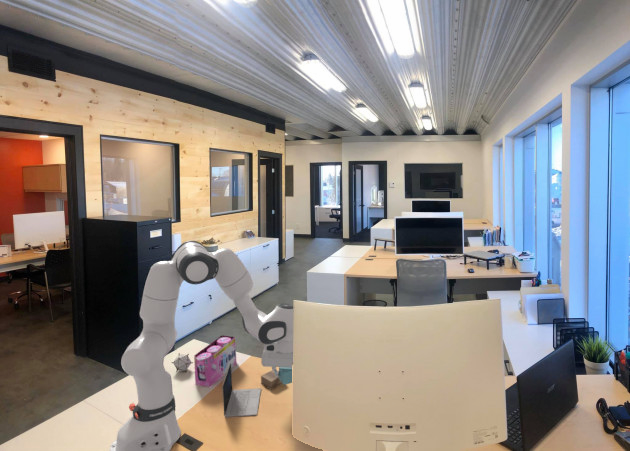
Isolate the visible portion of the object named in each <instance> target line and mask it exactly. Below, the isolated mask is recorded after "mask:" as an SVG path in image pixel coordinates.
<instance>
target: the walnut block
mask: <svg viewBox="0 0 630 451" xmlns="http://www.w3.org/2000/svg"><path fill="white" fill-rule="evenodd" d="M260 381H261V383H260V384H261V385H263V386H264V387H266V388H268V389H269V390H271V391H272V390H274V389H275V388H278V387H280V386H281V385H284V384H283V383H282V382H281V381H280V379H279V377H275V373H274V371H273V370H272V369H271V370H269V371H268V372H266V373H263V374H261V376H260Z"/></svg>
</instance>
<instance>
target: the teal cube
mask: <svg viewBox="0 0 630 451" xmlns="http://www.w3.org/2000/svg"><path fill="white" fill-rule="evenodd" d="M278 371H279V379H280V381H281V382H282V383H283V384H282V385H283V386H285V385H289V384H293V383H292V368H289V367H278Z"/></svg>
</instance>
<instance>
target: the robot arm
mask: <svg viewBox="0 0 630 451" xmlns="http://www.w3.org/2000/svg"><path fill="white" fill-rule="evenodd" d="M213 279H214V280H215V281H216V282H217V284H218V286H219V288H220V289H221V290H222V291H223V293H224V294H225V295H226V296H227V297H228V299H230V300H232V302H233V303H234V305H235V307H236V308H237V310H238V313H240V317H241V321H242V322H241V323H242V327H243V329H244V331H245V332H246V333H247V334H249V335H250V336H252V337H253V338H255V339H257V340H258V341H259V342H260V343H261V344H264V345H263V351H262V354H261V359H260V360H261V361H260V362H261V363H260V364H261V365H262V367H269V368H271V371H272V370H273V371H274V373H275V377H279V370H277V368H279V367H289V368H292V362H293V307H294V306H293V305H292V304H291V305H290V304H288V303H278V304H276V306H275V308H274V309H273V310H272V311H271V312H270V313H269V314H267V313H265V312H264V311H263V310H261V309H259V307H256V305H255V303H254V302H253V300H252V298H251V296H250V293H251V292H252V290H253V287H254V282H253V279H252V276H251V274H250V272H249V270H248V268H247V267H246V266H245V264H244V263H243V261H242V260H241V259H240V257H239V256H238V255H237V254H236V253H235V252H234V251H233V250H232V249H230V248H229V247H228V248H226V247H224V248H220V249H217V250H215V251H213V252H210V251H208V250H207V249H206V247H205V245H203V244H202V243H201V242H199V241H196V240H187V241H184V242H182V243H181V244H180V245H179V246H178V247H177V249H176V250H175V251H174V252H173V253H172V254H171V255H170V257H169V260H163V261H162V260H161V261H158V262H157V261H156V262H155V263H154V264H153V265H151V267H150V269H149V272H148V275H147V277H146V280H145V285H144V288H143V291H142V292H143V293H142V297H141V305H140V310H139V317H140V318H141V320H142V322H143V324H142V326H143V328H142V331H141V332H140V335H139V336H138V337H137V338H136V339H134V340H133V341H132V342H130V344H129V345H128V346H127V347H126V349H125V351H124V353H123V354H122V356H121V361H120V364H121V367H122V369H123V371H124V372H125V373H126V374H127V375H129V376H130V377H133V379H134V382H135V385H136V392H137V393H136V394H137V401H138V402H137V404H135V403H134V402H132V403H130V404H129V405H128V408H129V410H130V412H132V416H131V417H130V418H128V420H126V422H125V423H124V424H123V425H122V426H120V428H119V429H118V431H117V435H116V440H114V441H112V443H111V444H110V447H109V451H171V450H172V447H173V446H174V444H175V443H176V442H177V441H178V440H179V438H180V437H181V435H182V430H181V428H180V426H179V422H178V419H177V416H176V399H175V395H174V393H173V392H174V391H173V381H172V379H173V378H172V375H171V373H170V372H168V371H166V368H165V365H164V360H165V358H166V356H167V355H168V353H169V352H170V351H171V350H172V349H173V347H174V345H175V343H176V341H177V337H178V332H177V329H176V326H175V325H176V324H175V323H176V322H175V320H176V319H175V318H176V311H177V306H178V301H179V294H180V288H181V286H182V283H183V282H186V283H188V284H191V285H201V284H203V283H205V282H208V281H211V280H213Z"/></svg>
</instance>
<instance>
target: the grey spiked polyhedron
mask: <svg viewBox="0 0 630 451" xmlns="http://www.w3.org/2000/svg"><path fill="white" fill-rule="evenodd" d="M189 354H190V353H187V354H181V353H178V356H176V358H175V359H174V361H172V362H171V364H173V365H174V367H175V368H176V372H177V373H178V371H181V372H185V373H187V370H188V369H189V367H190V366H191V364H194V362H193V361H191V359H190V357H189Z"/></svg>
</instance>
